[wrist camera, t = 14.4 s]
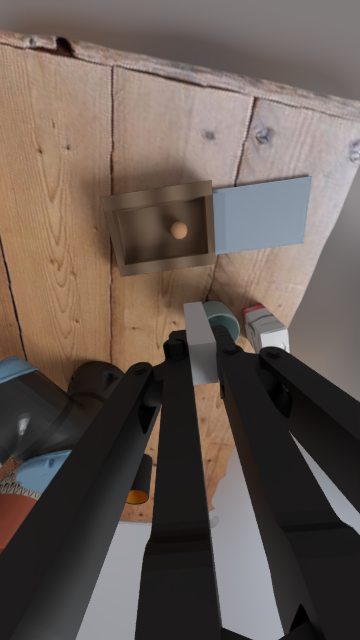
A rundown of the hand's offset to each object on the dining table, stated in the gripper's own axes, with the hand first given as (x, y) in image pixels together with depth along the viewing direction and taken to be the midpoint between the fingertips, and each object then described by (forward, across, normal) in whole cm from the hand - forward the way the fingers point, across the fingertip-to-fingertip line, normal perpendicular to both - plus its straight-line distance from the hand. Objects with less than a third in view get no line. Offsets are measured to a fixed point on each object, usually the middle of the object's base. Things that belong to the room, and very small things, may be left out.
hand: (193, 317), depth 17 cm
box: (+26, -3, +7) cm, 27 cm away
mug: (+27, -23, -65) cm, 74 cm away
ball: (+26, 0, +7) cm, 27 cm away
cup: (+27, +5, -11) cm, 29 cm away
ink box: (+27, +15, -15) cm, 34 cm away
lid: (+27, +15, +7) cm, 32 cm away
